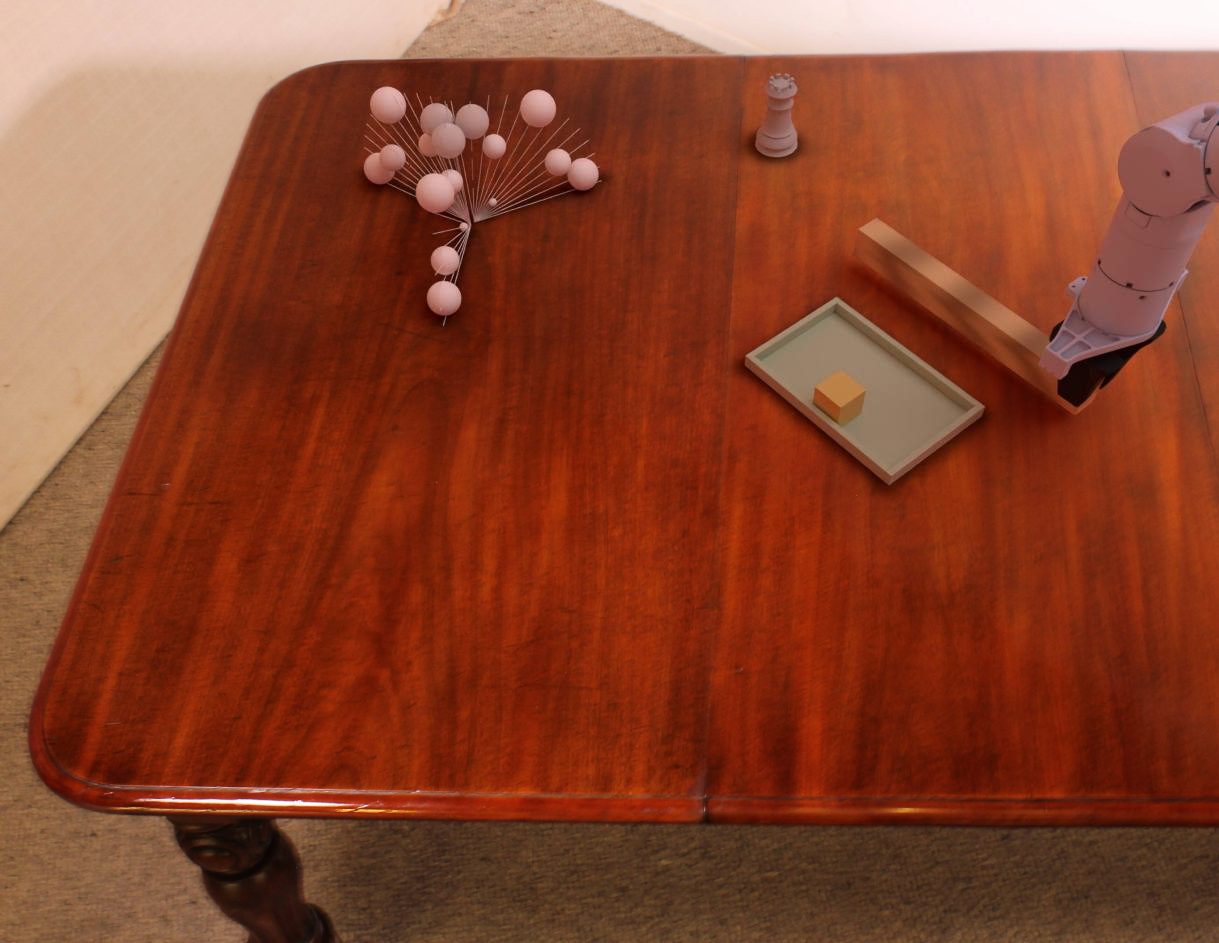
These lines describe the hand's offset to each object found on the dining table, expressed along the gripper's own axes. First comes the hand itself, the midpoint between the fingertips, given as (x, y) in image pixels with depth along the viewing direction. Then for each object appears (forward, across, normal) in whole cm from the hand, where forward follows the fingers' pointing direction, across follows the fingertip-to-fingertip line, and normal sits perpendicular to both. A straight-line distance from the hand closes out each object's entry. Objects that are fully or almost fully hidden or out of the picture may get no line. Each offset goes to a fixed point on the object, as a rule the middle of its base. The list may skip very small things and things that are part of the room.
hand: (1081, 389), depth 87 cm
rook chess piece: (+4, -7, -43) cm, 44 cm away
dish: (+4, +11, -13) cm, 18 cm away
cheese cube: (+3, +14, -13) cm, 20 cm away
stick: (+1, 0, -12) cm, 12 cm away
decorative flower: (+4, +27, -52) cm, 58 cm away
